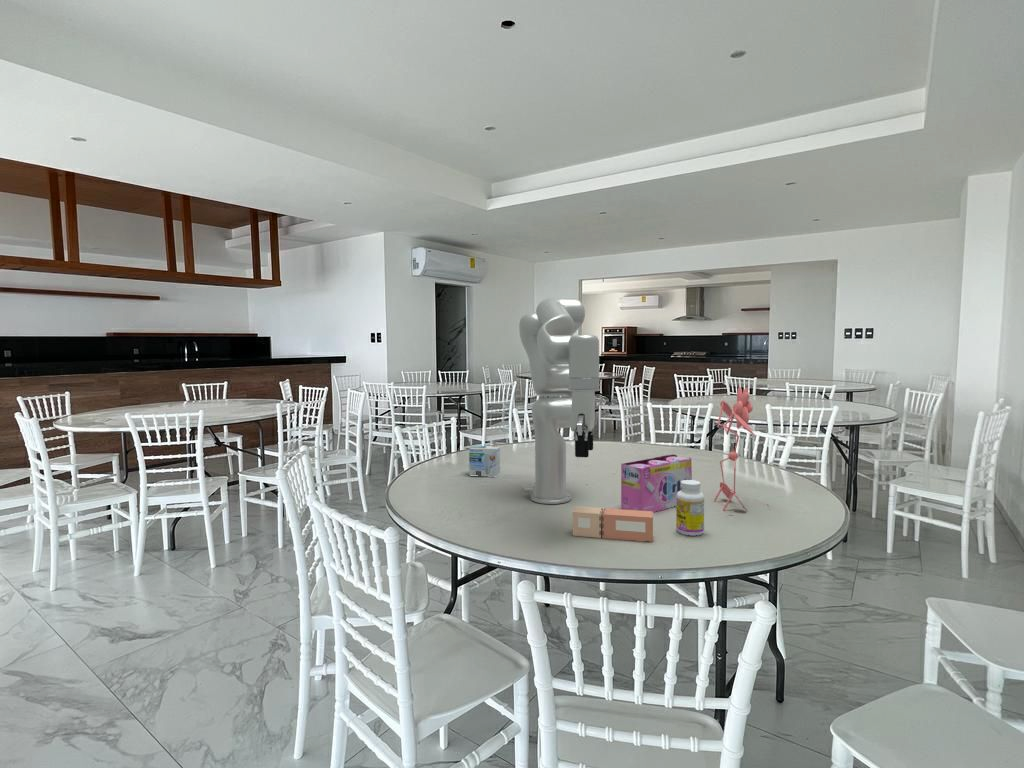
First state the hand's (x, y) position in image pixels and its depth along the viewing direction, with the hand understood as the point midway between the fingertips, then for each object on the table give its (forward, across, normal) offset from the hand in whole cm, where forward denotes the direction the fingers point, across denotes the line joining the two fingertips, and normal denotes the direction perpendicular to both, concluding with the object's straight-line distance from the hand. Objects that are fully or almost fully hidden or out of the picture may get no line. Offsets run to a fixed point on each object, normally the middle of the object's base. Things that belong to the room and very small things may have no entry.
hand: (584, 453), depth 135 cm
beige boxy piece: (+20, 0, +1) cm, 20 cm away
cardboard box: (+20, 0, +10) cm, 23 cm away
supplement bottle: (+21, -7, +26) cm, 34 cm away
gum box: (+21, -29, +18) cm, 40 cm away
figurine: (+20, -34, +42) cm, 58 cm away
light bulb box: (+20, -55, -44) cm, 74 cm away
